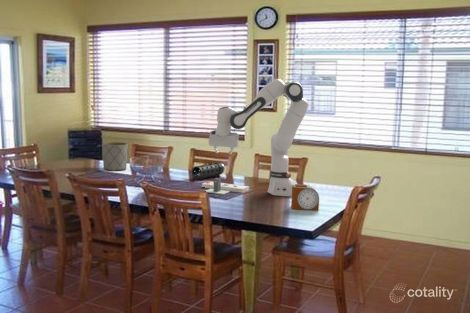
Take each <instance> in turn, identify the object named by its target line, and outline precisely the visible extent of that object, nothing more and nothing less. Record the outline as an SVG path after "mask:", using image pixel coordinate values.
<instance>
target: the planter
mask: <svg viewBox="0 0 470 313" xmlns="http://www.w3.org/2000/svg"><path fill="white" fill-rule="evenodd" d="M101 145H102V147H101V148H102V149H101V150H102V162H103V164H102V165H103V169H104V170H108V171H111V172H116V171H124V170H126V171H127V166H128V165H127V164H128V149H129V144H128V143H127V142H122V141H121V142H120V141H119V142H118V141H117V142H116V141H113V142H111V141H110V142H102V144H101Z"/></svg>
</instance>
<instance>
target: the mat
mask: <svg viewBox="0 0 470 313" xmlns="http://www.w3.org/2000/svg"><path fill="white" fill-rule="evenodd" d="M205 191H206V192H205V193H211V194H217V195H226V194H228V193H230V192H231V191H225V190H221V191H219V192H214V189H210V188H207V189H206V190H205Z"/></svg>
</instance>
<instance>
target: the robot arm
mask: <svg viewBox="0 0 470 313" xmlns="http://www.w3.org/2000/svg"><path fill="white" fill-rule="evenodd" d="M281 96H284V97H285V98H286V99H288V100H290V104H289V107H288V109H287V111H286V113H285V114H284V117H283V119H282V120H281V123H280V126H279V128H278V130H277V131H276V132H274V133H273V134H272V135H271V138H270V151H271V153H270V154H271V155H270V156H271V157H270V158H271V164H270V170H269V171H270V173H269V186H268V190H267V193H268V194H270V195H272V196H280V197H291V198H292V185H295V184H298V183H297V182H296V181H295V180H294V179H293V178H292V176H291V175H292V172H290V171H289V162H290V161H289V160H290V159H289V149H290V148H291V146H292V144H293V141H294V138H295V137H296V133H297V130H298V128H299V127H300V125H301V124H302V121H303V120H304V118H305V116H306V113H307V110H308V107H309V102H308V101H307V100H306V99H305V98H304V88H303V86H302V85H301V83H299V82H298V81H291V82H289V83H285V82H284V81H283V80H282V79H281V78H275V79H273V80H271V81H270V82H268V83H266V85H265V86H263V87H262V88H261V89H260V90H259V91H258V92H257V93H256V95H255V97H254V98H253V100H252V102H251V103H250V104H248V106H246V107H245V108H244V109H243V110H242V111H237V110H235V109H233V108H232V107H231V106H222V107H220V108H219V109H218V110H217V114H216V118H217V119H216V121H217V127H216V129H214V130H211V131H210V132H209V136H208V145H209V146H211V147H213V148H214V150H215V154H219V152H220V151H219V149H218V147H224V148H230V150H229V151H228V155H233V151H234V149H235V148H239V146H240V140H239V139H240V135H239V134H238V133H237V132H232V128H234V129H235V130H241V129H243V128H244V127H245V126H246V125H247V122H248V121H249V119H250V118H252V117H253V116H254V115H255V114H256V113H257V112H258V111H260V110H261V109H263V108H265V107H267V106H269V105H271V104H272V103H273V102H275V101H276V100H278V98H279V97H281Z"/></svg>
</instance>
